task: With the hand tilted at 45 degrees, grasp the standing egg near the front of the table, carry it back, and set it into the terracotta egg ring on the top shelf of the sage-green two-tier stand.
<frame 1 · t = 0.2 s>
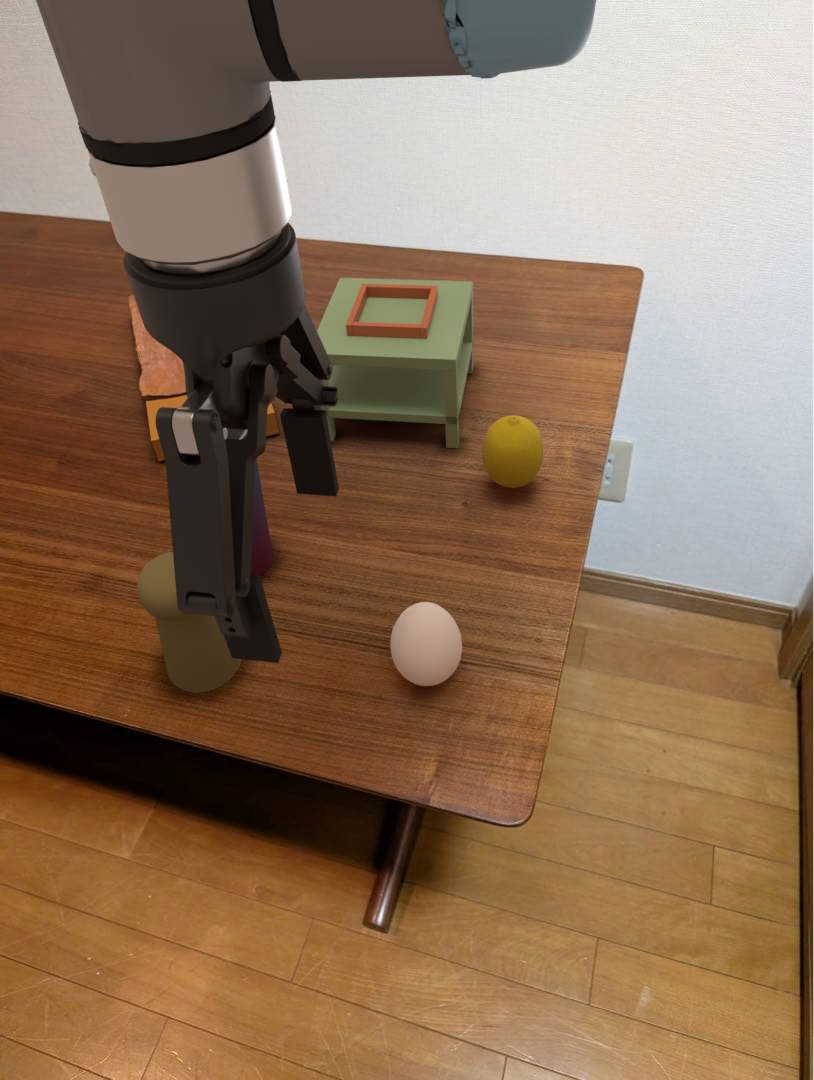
hand: (290, 566, 51), 16 cm above the table, tool pointing down, fingers open, 13 cm apart
cup: (245, 561, 74), on the table
bread: (201, 372, 95), on the table
cork: (205, 662, 67), on the table
lemon: (511, 486, 79), on the table
shelf: (400, 402, 89), on the table
egg: (428, 674, 65), on the table
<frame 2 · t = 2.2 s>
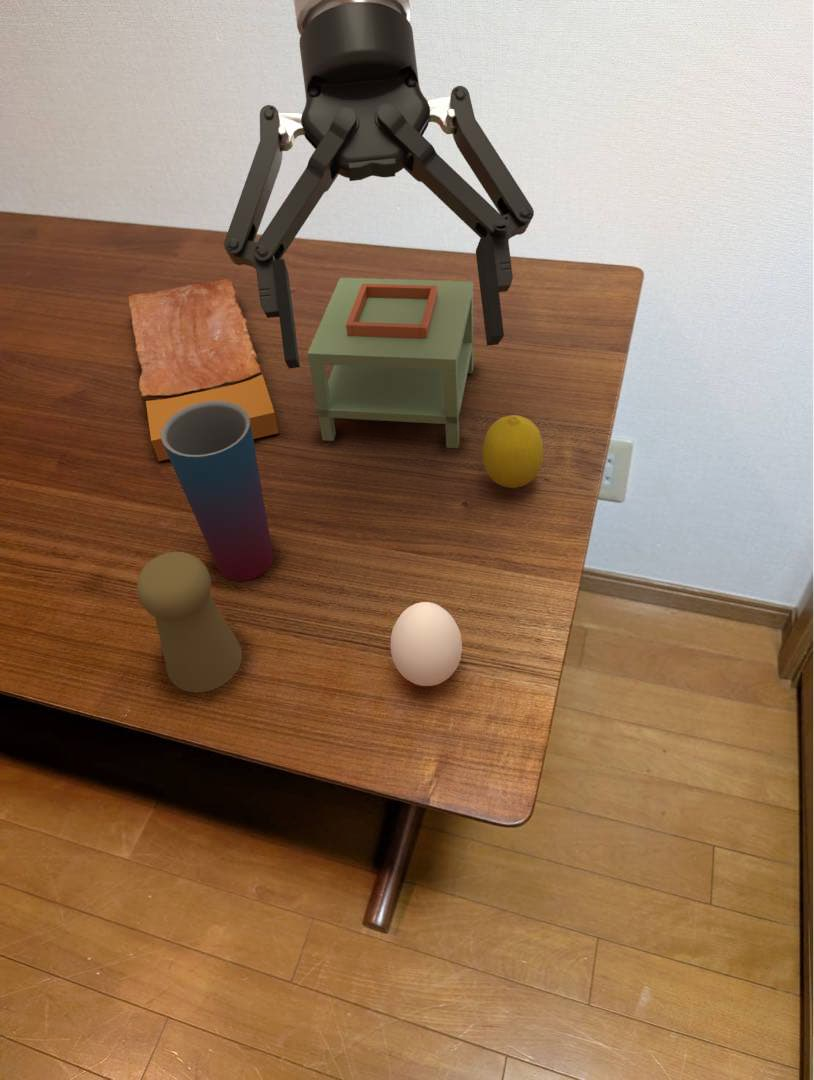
hand: (394, 353, 55), 23 cm above the table, tool tilted 45°, fingers open, 13 cm apart
nothing on the table moved.
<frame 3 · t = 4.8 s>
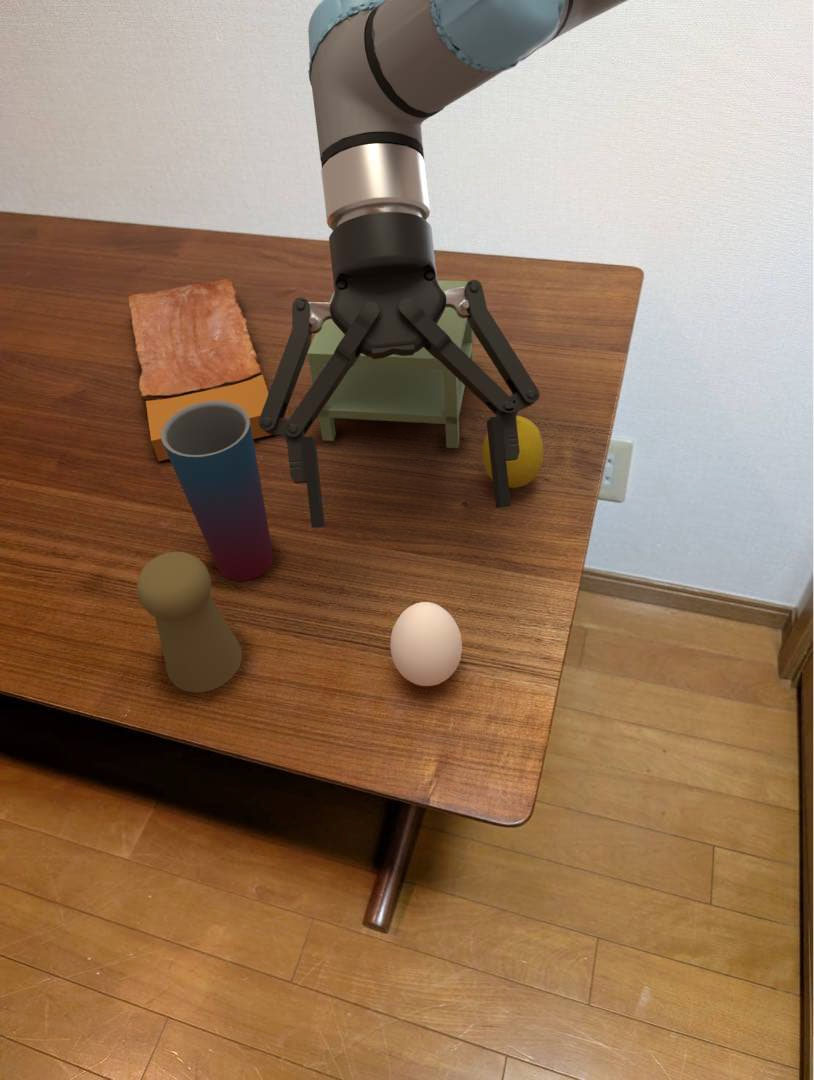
hand: (411, 517, 61), 11 cm above the table, tool tilted 45°, fingers open, 13 cm apart
nothing on the table moved.
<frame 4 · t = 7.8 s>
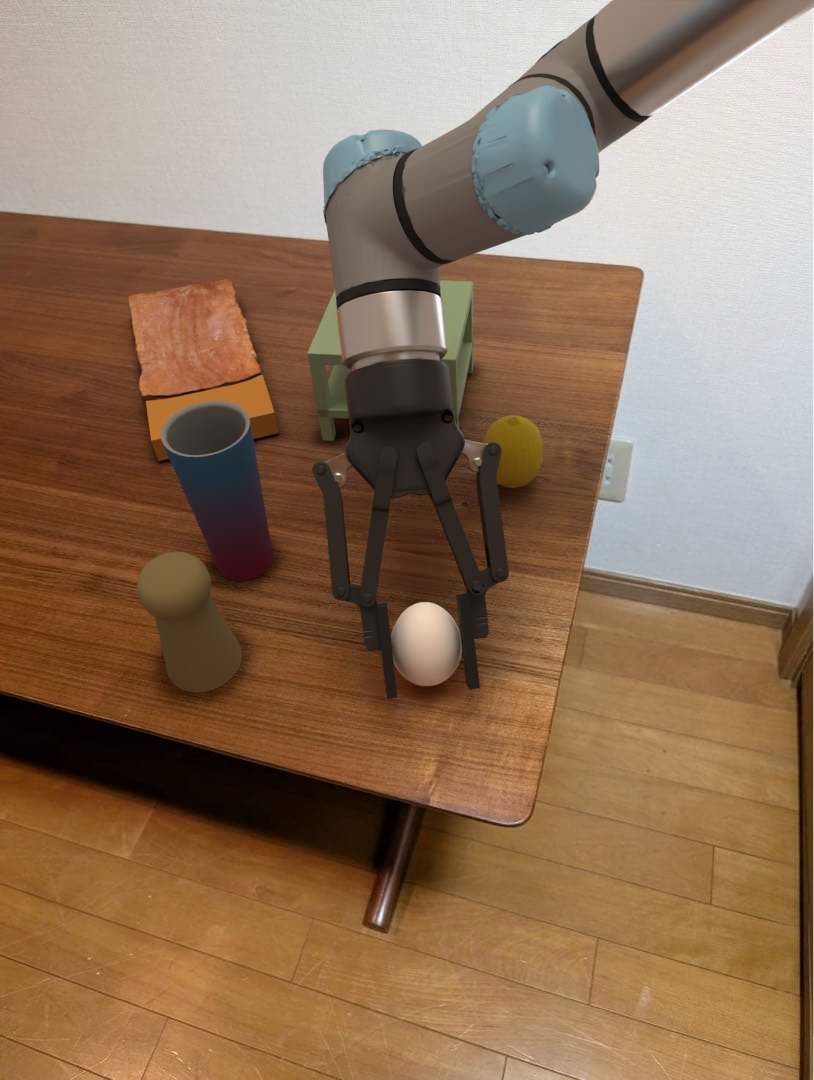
hand: (432, 689, 60), 3 cm above the table, tool tilted 45°, fingers closed on egg, 5 cm apart
egg: (428, 674, 65), on the table, touching gripper
everything else where it was.
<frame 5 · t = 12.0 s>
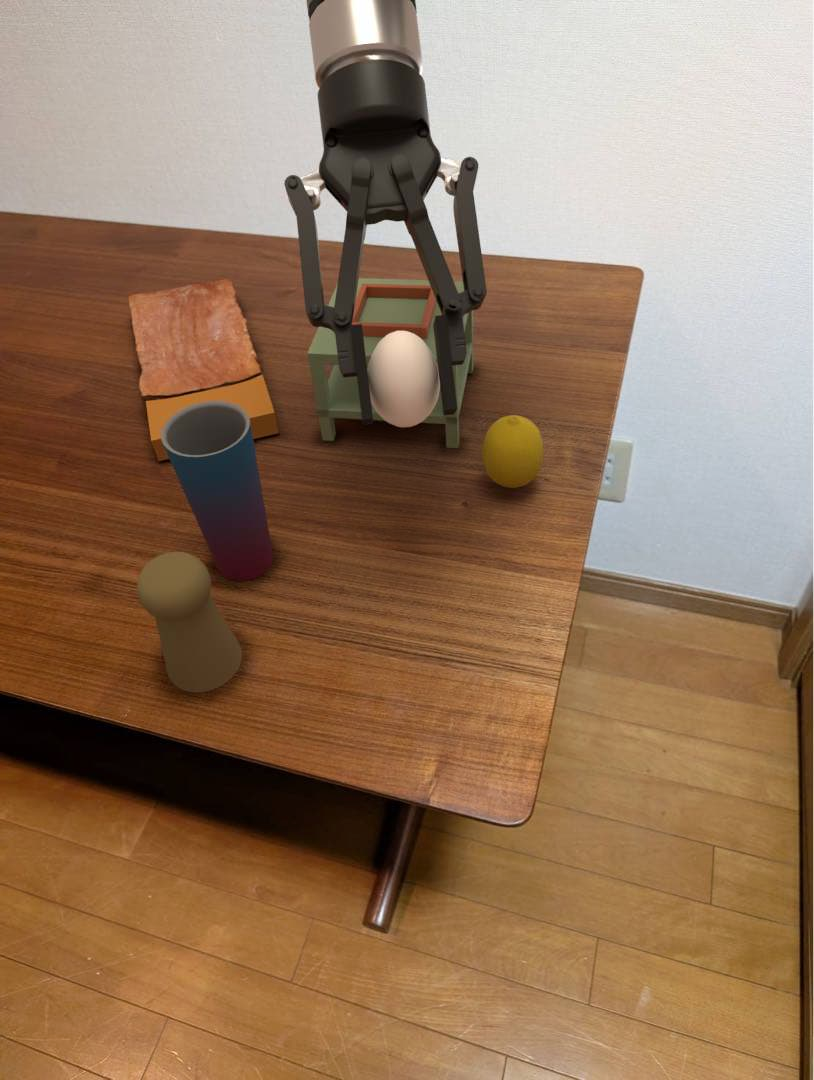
hand: (409, 416, 58), 18 cm above the table, tool tilted 45°, fingers closed on egg, 5 cm apart
egg: (406, 423, 63), point 14 cm above the table, touching gripper
everything else where it was.
when the fingers open (14 cm above the table, at t = 16.3 s): egg stays where it is, resting on shelf.
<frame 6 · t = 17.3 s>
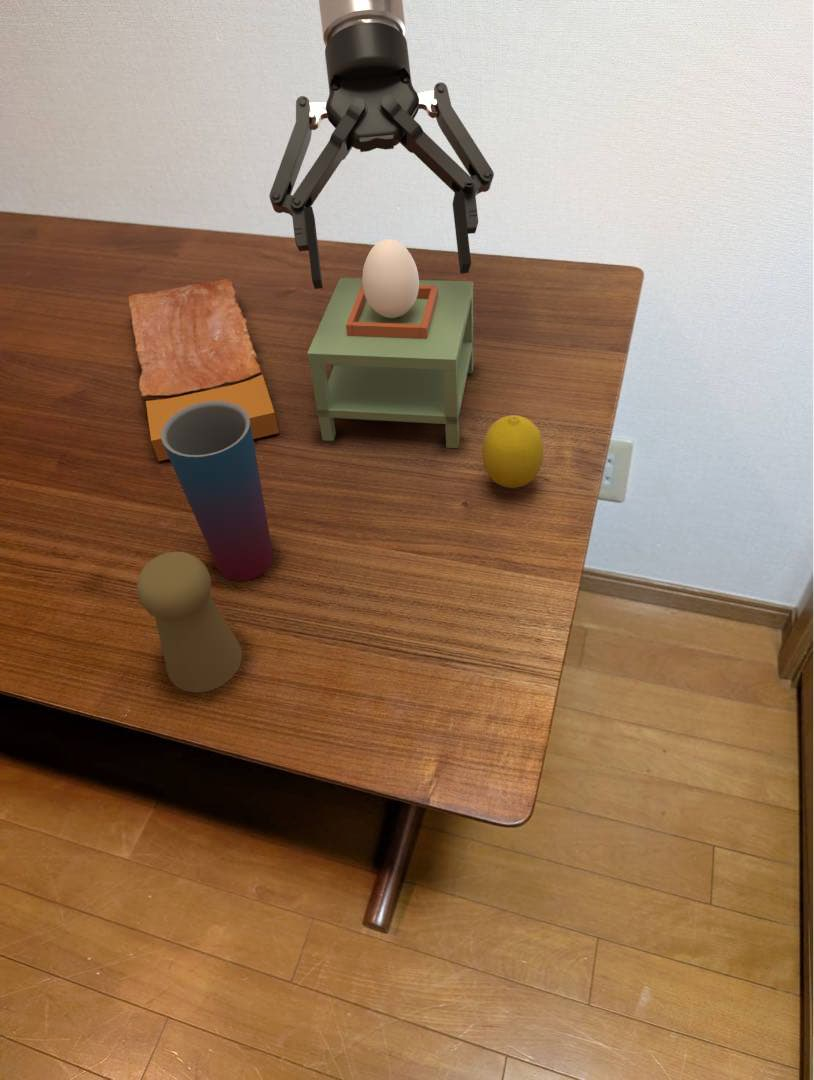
hand: (391, 277, 76), 16 cm above the table, tool tilted 45°, fingers open, 13 cm apart
egg: (393, 317, 81), point 10 cm above the table, touching shelf
everything else where it was.
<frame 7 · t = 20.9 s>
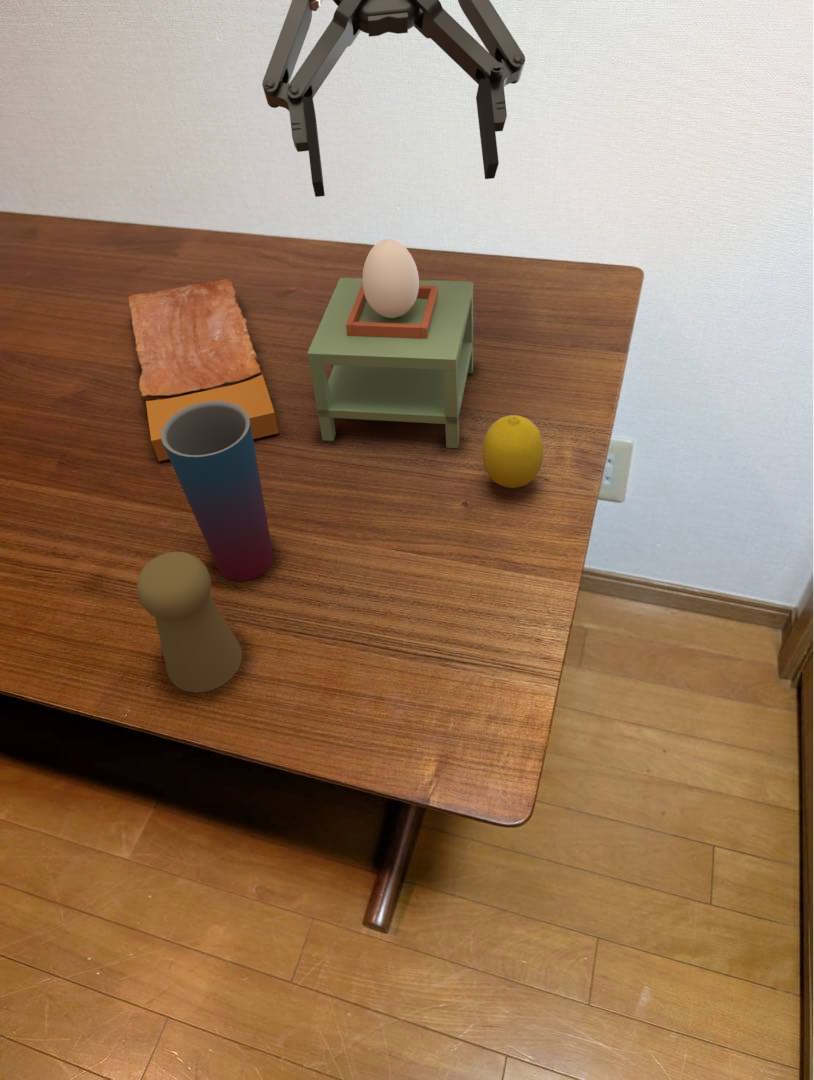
hand: (405, 181, 65), 26 cm above the table, tool tilted 45°, fingers open, 13 cm apart
nothing on the table moved.
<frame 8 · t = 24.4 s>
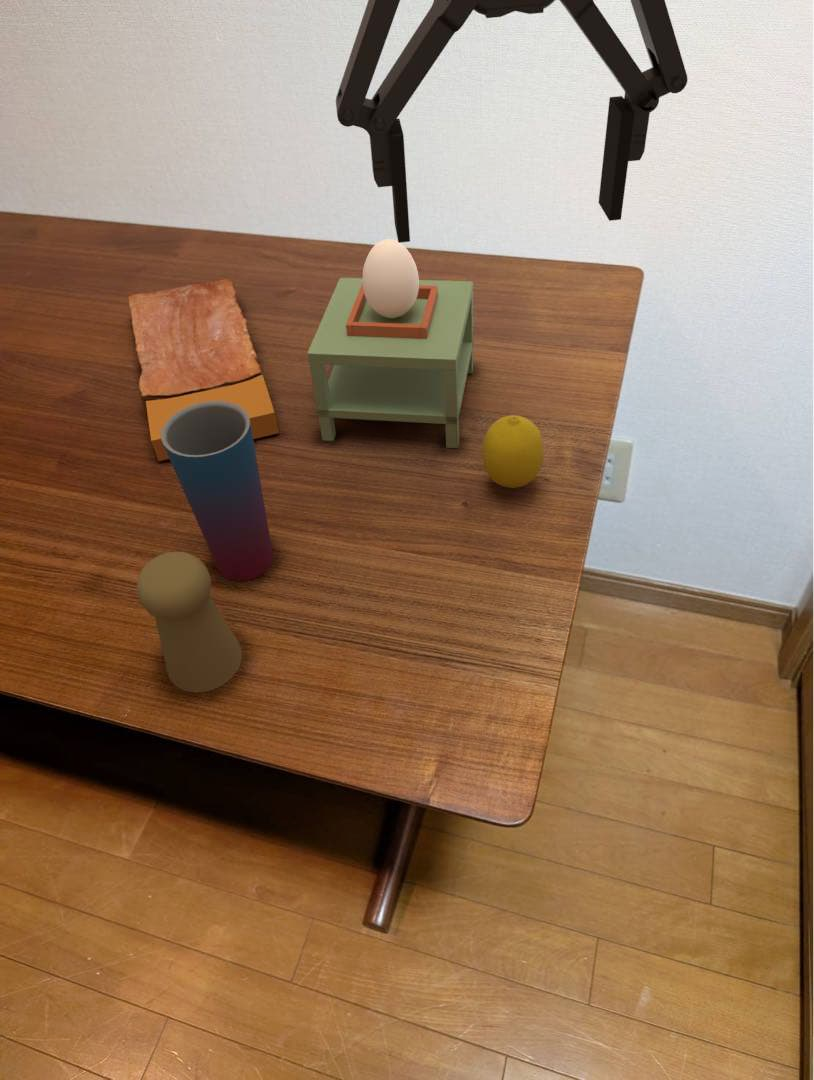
hand: (506, 222, 54), 29 cm above the table, tool pointing down, fingers open, 13 cm apart
nothing on the table moved.
at the end: egg 0.1 cm off-centre on the shelf, point 10.3 cm above the shelf's base; the gripper is holding nothing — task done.
